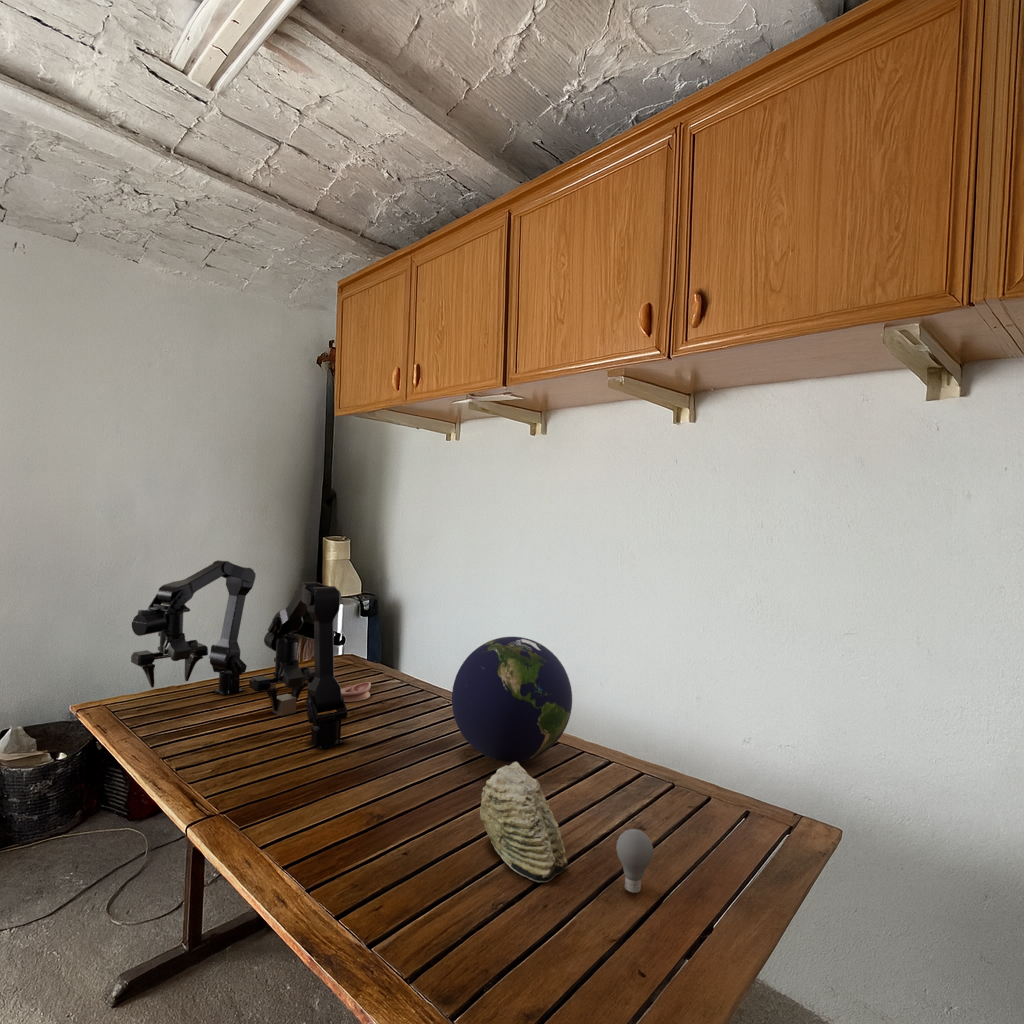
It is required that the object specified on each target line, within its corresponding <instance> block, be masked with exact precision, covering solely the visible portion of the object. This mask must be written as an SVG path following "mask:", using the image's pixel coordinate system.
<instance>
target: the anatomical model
mask: <svg viewBox="0 0 1024 1024" xmlns="http://www.w3.org/2000/svg"><path fill="white" fill-rule="evenodd" d="M371 686H372V684H371V681H365V682H364V681H363V682H361V683H357V684H353V685H350V686H347V687H344V688H341V693H342V696H343V699H344V702H345V703H350V702H359V701H364V700H367V699H369V698H370V697H371V693H370V691H369V690H370V689H371V688H372V687H371Z"/></svg>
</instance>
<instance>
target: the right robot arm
mask: <svg viewBox="0 0 1024 1024" xmlns="http://www.w3.org/2000/svg"><path fill="white" fill-rule="evenodd" d="M341 600H342V594H341V591H340V590H339V589H337V587H336V586H334V585H326V584H322V583H320V582H317V581H310V582H309V581H307V582H301V583H300V584H299V585H298V590H297V592H296V593H295V594H294V596H293V597H292V599H291V601H290V602H289V604H288V605H287V606H286V607H285V608H282V609H280V610H279V611H278V612H276V614H274V616H273V618H272V620H271V623H270V624H269V626H268V628H267V633H266V634H265V635H264V638H263V643H264V645H265V647H267V648H268V649H270V650H272V651H274V652H275V657H274V658H273V662H275V665H274V666H275V667H274V671H273V677H269V678H268V677H267V676H265V675H259V676H251V678H250V679H249V681H248V687H249V688H250V689H251V690H253V691H254V692H258V693H259V692H266V694H267V696H268V698H269V701H270V703H271V706H272V710H273V709H274V711H277V696H278V691H279V689H278V688H276V686H277V685H280V684H284V685H285V687H286V688H288V689H291V694H290V695H292V696H294V697H296V703H297V702H298V700H299V697H300V695H301V694H302V691H303V690H304V689H305V688H306V687H307V688H306V689H307V697H306V701H305V705H306V714H307V720H308V723H309V724H312V727H311V730H310V731H311V732H310V733H311V735H310V739H309V740H308V743H309V744H310V745H313V746H314V747H316V748H318V749H320V750H327V749H329V748H333V747H336V746H340V745H343V744H344V743H345V741H344V740H343V739H341V737H342V735H341V733H342V720H346V719H347V718H348V714H349V712H348V708H347V705H346V702H344V699H343V696H342V693H341V689H342V688H341V685H340V683H339V682H338V680H337V678H336V677H335V647H334V641H335V640H334V620H335V619H336V616H337V615H338V613H339V611H340V607H341V605H340V604H341ZM306 612H307V613H308V614H309V616H310V618H311V619H312V621H313V639H314V640H313V642H314V643H313V649H314V650H313V652H314V653H313V654H314V657H313V659H314V669H313V668H310V666H304V667H303V666H302V667H300V665H299V659H298V657H297V655H298V643H299V642H300V639H299V637H298V636H297V634H296V633H298V632H299V631H300V630H301V628H302V626H303V624H304V619H303V617H304V615H305V613H306ZM332 711H333V712H332ZM322 713H323V714H322Z"/></svg>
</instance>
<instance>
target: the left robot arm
mask: <svg viewBox="0 0 1024 1024" xmlns="http://www.w3.org/2000/svg"><path fill="white" fill-rule="evenodd" d="M219 578H225V587H226V590H227V592H228V598H227V602H226V608H225V613H224V617H223V623H222V629H221V632H220V633H221V634H220V639H219V640H218V642H217V643H216V644H212V645H211V646H210V653H209V647H208V646H207V645H206V644H204V643H200V642H199V641H198V640H197V639H190V640H186V635H185V634H186V633H185V632H184V613H189V612H191V608H189V607H188V606H187V605H186V604H187V603H188V602H189V601H190V600H192V598H193V597H194V595H195V593H196V592H198V591H199V590H201V589H203V588H204V587H206V586H208V585H210V584H211V583H213V582H215V581H216V580H218V579H219ZM255 581H256V572H255V571H254V569H253V568H252V567H245V566H240V565H237V564H234V563H232V562H230V561H229V560H219V559H217V560H215V561H213V562H212V563H211V564H209V565H208V566H206V567H204V568H202V569H200V570H199V571H196V572H195V573H194V574H192V575H190V576H188V577H186V578H184V579H180V580H176V581H171V582H168V583H166V584H162V585H160V587H159V588H158V591H157V593H156V595H155V596H154V598H153V599H152V601H151V602H150V604H149V605H148V607H147V609H138V610H137V615H135V616H134V617H133V619H132V621H131V629H132V632H133V633H134V634H135V635H136V636H138V637H142V636H146V635H151V634H157V633H158V634H157V637H159V646H157V652H156V651H155V652H152V651H150V650H140V651H134V652H133V653H132V654H131V655H130V662H131V663H132V664H134V665H136V666H137V667H140V668H141V669H142V670H143V672H144V674H145V677H146V678H147V679H146V680H147V681H148V683H149V686H150V688H154V687H155V667H156V664H154V663H155V660H162V659H169V658H170V660H171V661H173V662H179V661H181V660H182V661H183V660H184V681H185V682H189V680H190V678H191V675H192V673H193V670H194V668H195V666H196V665H197V663H198V662H199V661H200V660H202V659H204V657H207V656H208V655H209V656H208V659H209V664H210V665H211V668H212V671H213V673H218V688H216V689H214V690H213V692H214V693H216V694H219V695H222V696H230V695H233V694H238V693H242V692H244V688H241V687H240V684H241V683H240V682H241V677H240V675H243V674H245V673H246V671H247V666H248V665H247V664H246V663H245V662H244V661H243V660H242V659H241V648H240V645H239V642H238V640H239V639H238V638H239V633H240V628H241V625H242V618H243V612H244V608H245V601H246V598H247V595H248V594H249V593H250V591H251V590H252V589H253V587H254V584H255Z"/></svg>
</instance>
